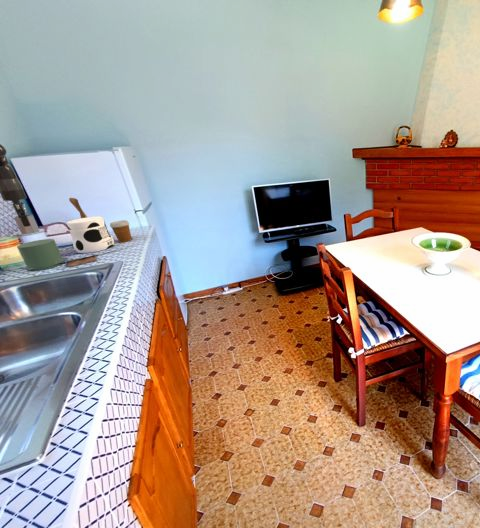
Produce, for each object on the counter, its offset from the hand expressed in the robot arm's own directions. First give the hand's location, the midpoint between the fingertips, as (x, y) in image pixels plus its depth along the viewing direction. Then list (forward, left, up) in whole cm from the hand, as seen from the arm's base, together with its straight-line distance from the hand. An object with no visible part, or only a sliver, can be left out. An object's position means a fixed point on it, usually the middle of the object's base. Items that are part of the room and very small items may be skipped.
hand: (27, 225), depth 141 cm
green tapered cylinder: (0, 0, -21) cm, 21 cm away
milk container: (+21, +8, -21) cm, 31 cm away
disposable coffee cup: (+36, +18, -21) cm, 45 cm away
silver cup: (0, 0, -4) cm, 4 cm away
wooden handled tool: (+22, +31, -21) cm, 44 cm away
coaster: (+13, -8, -21) cm, 26 cm away
